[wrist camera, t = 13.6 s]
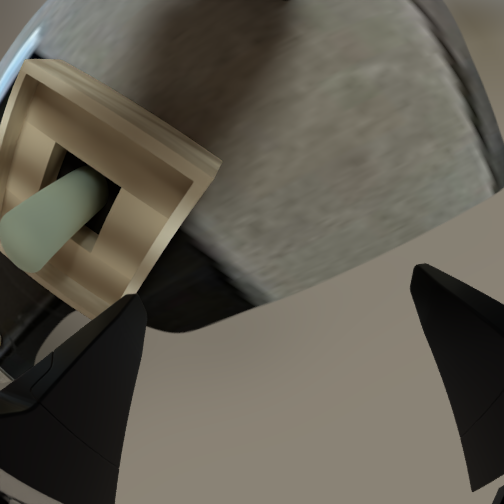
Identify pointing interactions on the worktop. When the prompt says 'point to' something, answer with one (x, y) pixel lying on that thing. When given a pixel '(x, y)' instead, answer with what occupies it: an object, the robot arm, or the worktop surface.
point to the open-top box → (107, 163)
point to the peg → (52, 217)
